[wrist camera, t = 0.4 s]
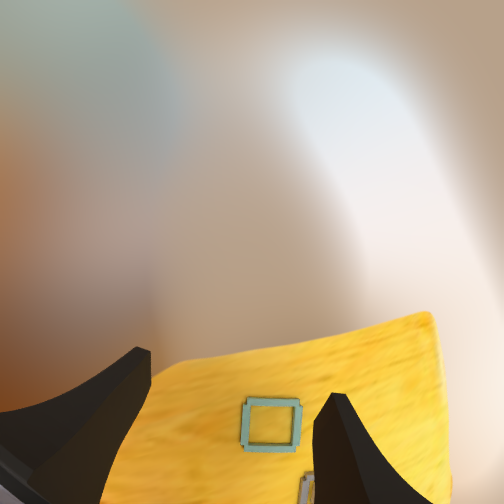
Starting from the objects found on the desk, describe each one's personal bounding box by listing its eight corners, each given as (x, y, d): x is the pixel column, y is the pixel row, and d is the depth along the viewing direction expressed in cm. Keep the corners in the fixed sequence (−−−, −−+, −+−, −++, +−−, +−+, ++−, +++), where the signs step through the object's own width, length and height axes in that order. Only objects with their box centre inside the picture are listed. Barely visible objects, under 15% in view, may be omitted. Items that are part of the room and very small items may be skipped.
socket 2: (346, 507, 28) (349, 510, 27) (296, 512, 28) (298, 516, 27) (353, 467, 31) (356, 469, 30) (301, 472, 31) (303, 475, 30)
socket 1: (297, 449, 33) (299, 452, 31) (240, 448, 33) (240, 451, 31) (301, 398, 36) (303, 399, 34) (243, 396, 36) (243, 397, 34)
